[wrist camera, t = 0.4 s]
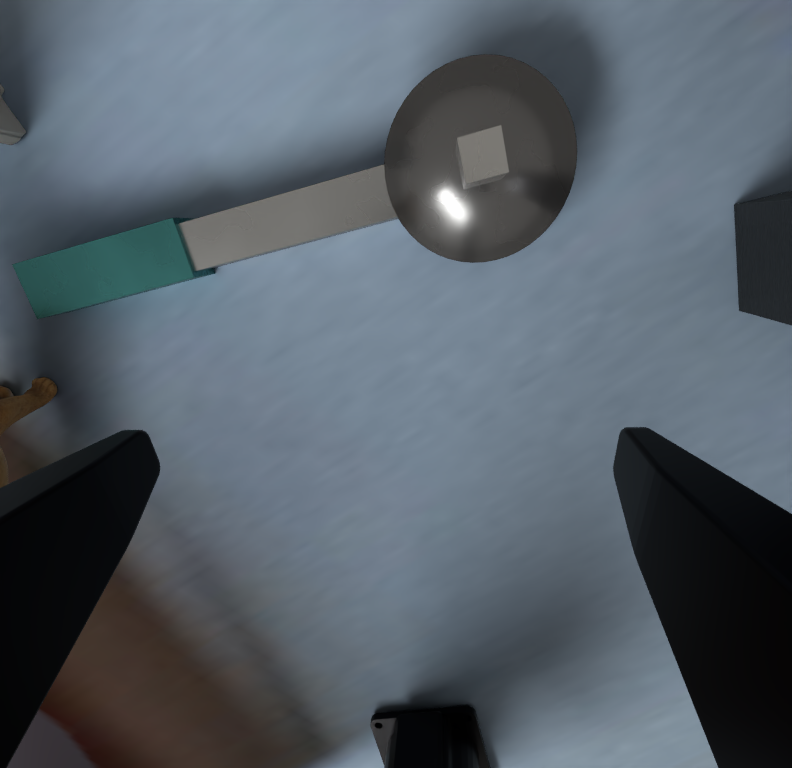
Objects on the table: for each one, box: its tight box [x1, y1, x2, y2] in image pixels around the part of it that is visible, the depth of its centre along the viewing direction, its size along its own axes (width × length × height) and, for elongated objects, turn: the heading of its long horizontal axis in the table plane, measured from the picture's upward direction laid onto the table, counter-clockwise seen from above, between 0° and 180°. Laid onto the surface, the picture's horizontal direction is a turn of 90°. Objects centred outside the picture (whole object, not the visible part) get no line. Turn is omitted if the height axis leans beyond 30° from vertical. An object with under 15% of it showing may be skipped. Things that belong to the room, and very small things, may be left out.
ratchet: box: [12, 54, 577, 319], centre depth 19 cm, size 7×24×5 cm, turn 104°
